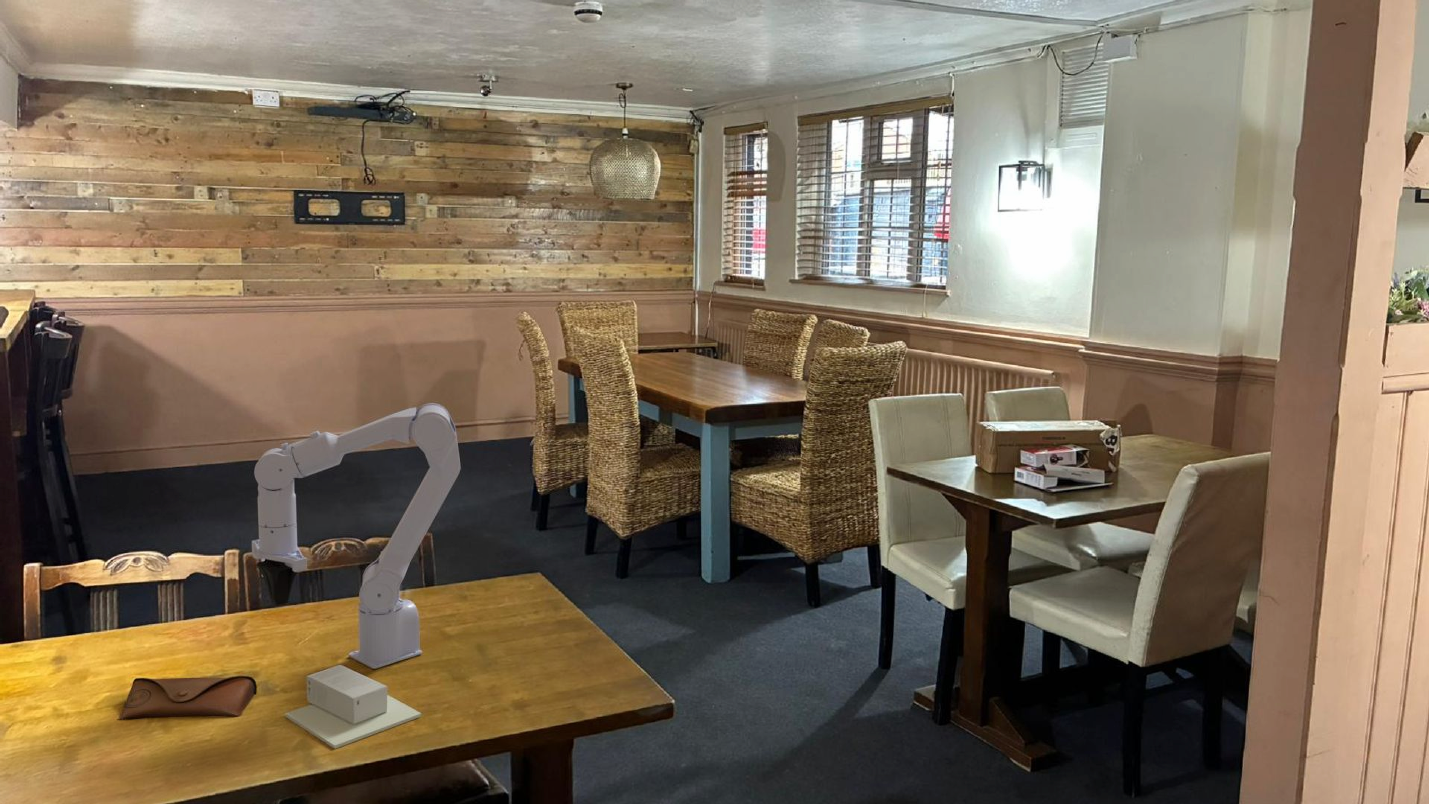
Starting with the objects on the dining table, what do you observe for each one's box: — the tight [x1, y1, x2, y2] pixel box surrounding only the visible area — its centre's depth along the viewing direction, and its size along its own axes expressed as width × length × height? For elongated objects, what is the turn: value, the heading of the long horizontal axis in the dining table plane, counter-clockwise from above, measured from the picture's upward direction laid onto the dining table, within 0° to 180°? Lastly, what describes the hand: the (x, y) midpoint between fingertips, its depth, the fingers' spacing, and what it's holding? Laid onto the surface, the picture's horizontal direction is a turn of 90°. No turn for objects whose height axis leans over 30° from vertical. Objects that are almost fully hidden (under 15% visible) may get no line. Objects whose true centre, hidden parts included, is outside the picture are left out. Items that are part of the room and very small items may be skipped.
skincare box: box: [306, 664, 388, 725], centre depth 158 cm, size 6×4×12 cm
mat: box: [284, 694, 422, 750], centre depth 156 cm, size 14×14×1 cm
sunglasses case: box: [116, 675, 258, 721], centre depth 158 cm, size 18×7×7 cm, turn 100°
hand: (280, 603), depth 172 cm, fingers closed
